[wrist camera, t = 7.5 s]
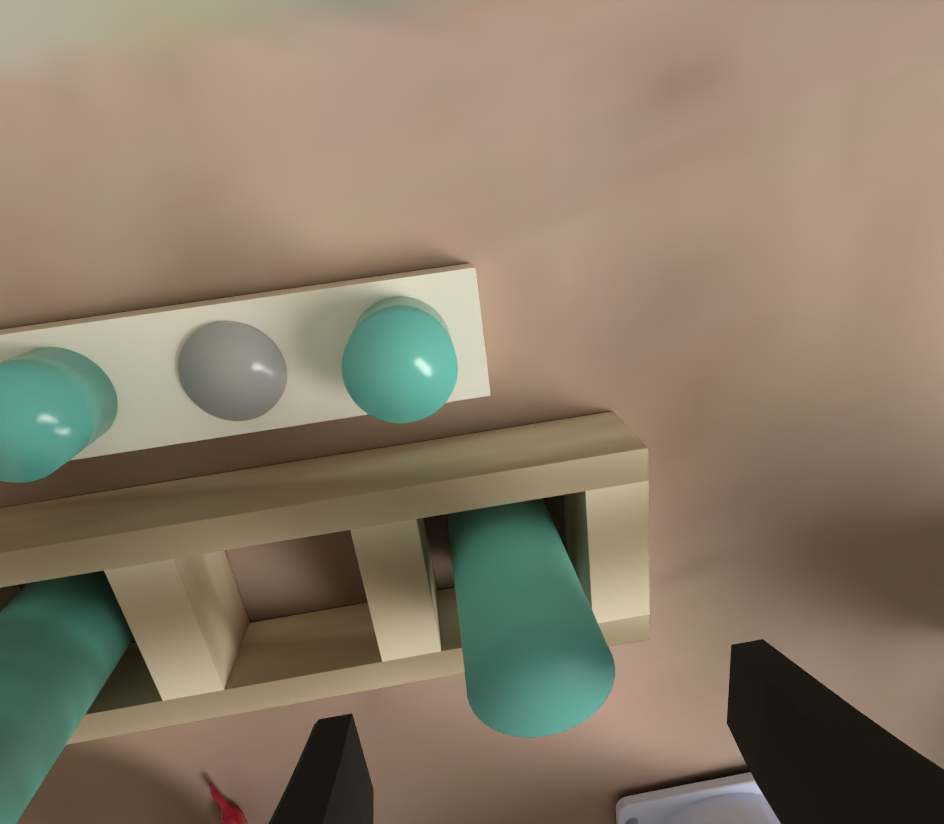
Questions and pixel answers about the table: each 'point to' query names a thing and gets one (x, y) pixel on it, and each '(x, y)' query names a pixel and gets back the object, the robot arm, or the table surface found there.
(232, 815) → the decorative bird figurine
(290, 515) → the beige compartment tray
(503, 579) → the pin
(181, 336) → the pattern tile
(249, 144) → the table surface
